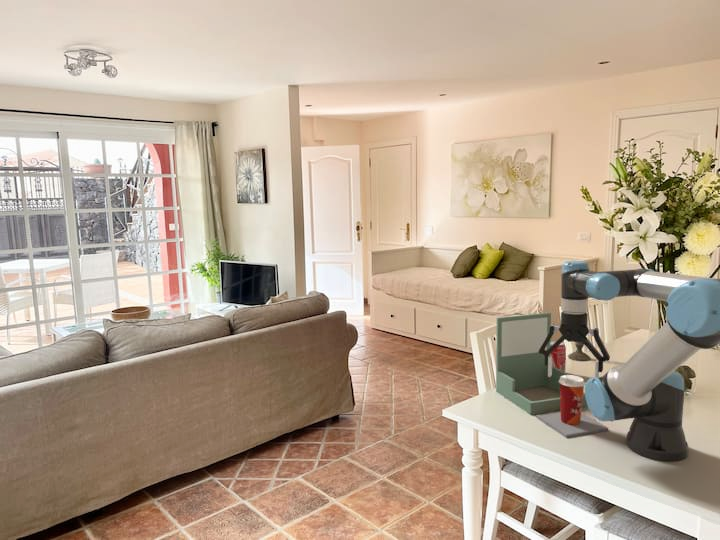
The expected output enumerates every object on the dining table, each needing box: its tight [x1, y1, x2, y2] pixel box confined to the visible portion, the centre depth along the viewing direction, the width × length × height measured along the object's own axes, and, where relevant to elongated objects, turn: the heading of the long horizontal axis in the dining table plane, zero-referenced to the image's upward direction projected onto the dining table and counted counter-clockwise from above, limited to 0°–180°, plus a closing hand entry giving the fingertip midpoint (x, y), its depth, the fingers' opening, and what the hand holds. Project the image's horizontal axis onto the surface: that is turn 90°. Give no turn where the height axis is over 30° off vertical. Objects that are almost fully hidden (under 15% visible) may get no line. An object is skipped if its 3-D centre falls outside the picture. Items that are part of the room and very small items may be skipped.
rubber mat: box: [535, 410, 609, 438], centre depth 163 cm, size 15×15×1 cm
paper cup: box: [559, 374, 586, 425], centre depth 162 cm, size 8×8×14 cm
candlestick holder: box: [567, 342, 591, 362], centre depth 225 cm, size 9×9×30 cm
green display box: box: [495, 312, 588, 416], centre depth 182 cm, size 22×22×28 cm
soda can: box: [550, 340, 567, 373], centre depth 207 cm, size 7×7×13 cm
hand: (572, 378), depth 160 cm, fingers open, 13 cm apart
